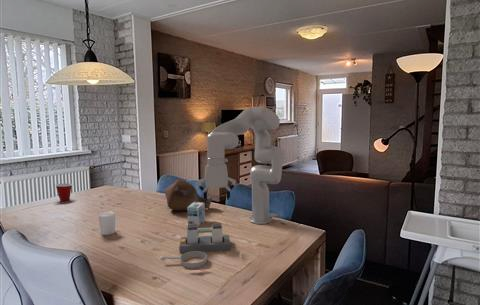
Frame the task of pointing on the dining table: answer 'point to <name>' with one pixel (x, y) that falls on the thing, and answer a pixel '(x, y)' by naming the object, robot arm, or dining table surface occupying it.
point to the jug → (183, 196)
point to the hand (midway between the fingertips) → (216, 199)
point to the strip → (205, 244)
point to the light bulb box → (196, 213)
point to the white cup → (107, 223)
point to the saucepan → (189, 255)
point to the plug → (216, 232)
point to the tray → (204, 230)
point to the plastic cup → (64, 191)
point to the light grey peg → (192, 234)
